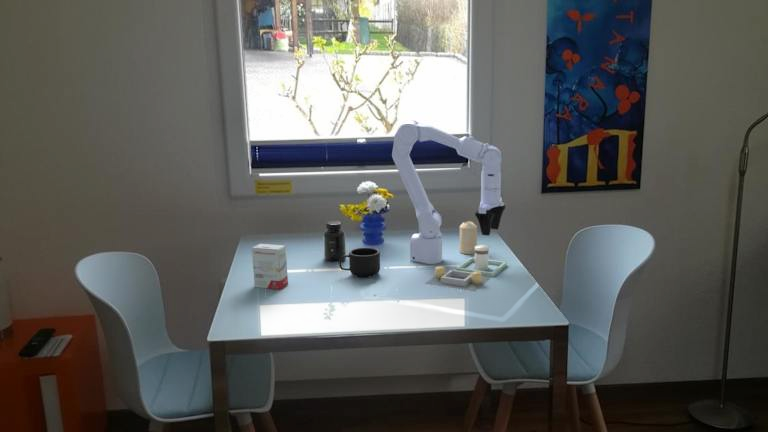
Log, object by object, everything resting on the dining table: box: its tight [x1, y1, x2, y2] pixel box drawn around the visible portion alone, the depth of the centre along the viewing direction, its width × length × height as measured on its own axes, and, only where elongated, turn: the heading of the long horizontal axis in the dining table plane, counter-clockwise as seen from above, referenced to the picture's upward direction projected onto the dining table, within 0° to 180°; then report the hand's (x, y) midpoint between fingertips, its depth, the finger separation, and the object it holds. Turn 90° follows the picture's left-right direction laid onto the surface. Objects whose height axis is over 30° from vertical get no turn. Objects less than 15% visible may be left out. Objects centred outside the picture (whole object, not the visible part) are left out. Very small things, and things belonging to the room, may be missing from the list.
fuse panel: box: [425, 265, 491, 292], centre depth 199 cm, size 15×12×4 cm
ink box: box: [251, 243, 289, 290], centre depth 200 cm, size 9×5×12 cm, turn 71°
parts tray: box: [455, 257, 508, 278], centre depth 210 cm, size 12×12×2 cm
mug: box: [338, 247, 381, 279], centre depth 208 cm, size 12×9×7 cm
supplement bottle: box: [322, 220, 347, 263], centre depth 223 cm, size 7×7×12 cm
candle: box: [459, 220, 478, 255], centre depth 228 cm, size 6×6×10 cm
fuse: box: [474, 244, 490, 271], centre depth 209 cm, size 4×4×7 cm
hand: (490, 231), depth 213 cm, fingers open, 7 cm apart
